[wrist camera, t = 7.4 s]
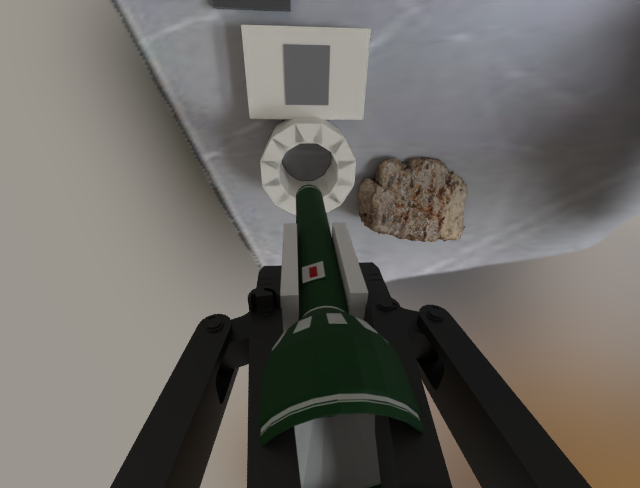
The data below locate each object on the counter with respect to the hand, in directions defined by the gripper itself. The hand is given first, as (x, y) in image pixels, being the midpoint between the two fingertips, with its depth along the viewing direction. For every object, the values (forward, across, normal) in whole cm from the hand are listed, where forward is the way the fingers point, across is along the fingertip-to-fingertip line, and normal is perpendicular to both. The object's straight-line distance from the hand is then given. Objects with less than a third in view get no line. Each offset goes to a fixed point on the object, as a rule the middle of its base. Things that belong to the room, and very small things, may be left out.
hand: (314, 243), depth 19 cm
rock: (+21, -15, +5) cm, 26 cm away
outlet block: (+21, 0, -4) cm, 21 cm away
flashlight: (+8, 0, 0) cm, 8 cm away
